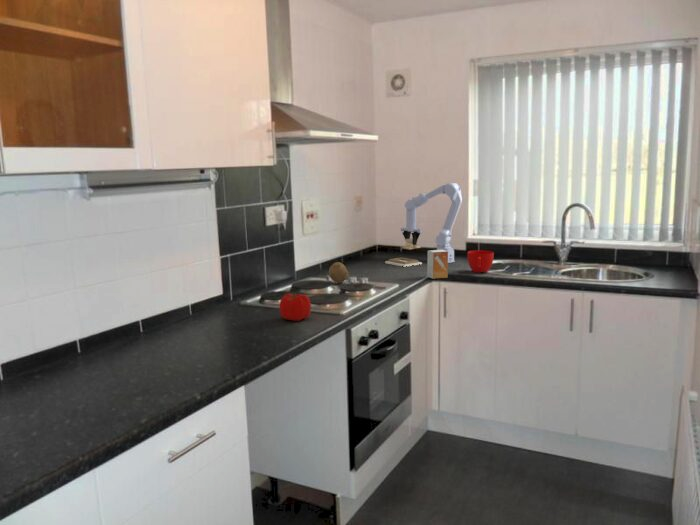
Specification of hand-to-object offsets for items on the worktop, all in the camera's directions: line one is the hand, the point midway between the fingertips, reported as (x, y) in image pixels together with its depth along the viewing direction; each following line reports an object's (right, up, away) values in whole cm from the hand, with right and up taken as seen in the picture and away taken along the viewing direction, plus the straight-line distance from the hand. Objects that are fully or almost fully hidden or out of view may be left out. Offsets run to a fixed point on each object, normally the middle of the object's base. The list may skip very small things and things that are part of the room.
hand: (411, 244), depth 331 cm
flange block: (0, -2, 0) cm, 2 cm away
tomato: (-55, -31, -124) cm, 139 cm away
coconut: (-41, -20, -62) cm, 77 cm away
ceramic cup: (+30, -16, -41) cm, 53 cm away
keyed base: (-6, -11, -12) cm, 17 cm away
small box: (+7, -18, -51) cm, 55 cm away
